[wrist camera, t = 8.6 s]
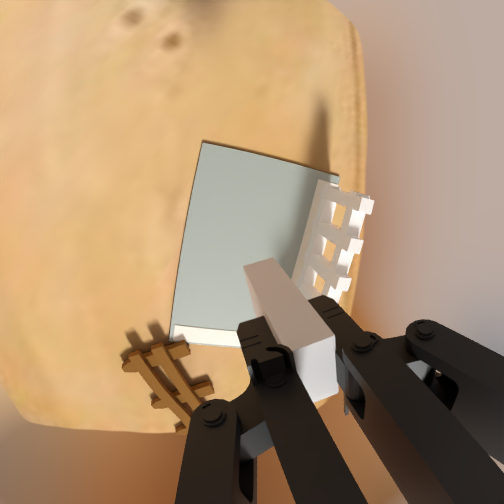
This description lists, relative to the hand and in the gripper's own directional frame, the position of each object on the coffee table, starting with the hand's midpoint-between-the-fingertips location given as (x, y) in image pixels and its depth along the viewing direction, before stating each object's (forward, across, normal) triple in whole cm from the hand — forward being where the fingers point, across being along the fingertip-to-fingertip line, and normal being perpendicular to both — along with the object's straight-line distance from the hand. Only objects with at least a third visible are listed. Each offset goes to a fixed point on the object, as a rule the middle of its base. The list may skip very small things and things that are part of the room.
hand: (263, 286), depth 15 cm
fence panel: (+20, +9, -9) cm, 23 cm away
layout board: (+21, +2, -8) cm, 22 cm away
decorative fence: (+20, -13, -27) cm, 36 cm away
